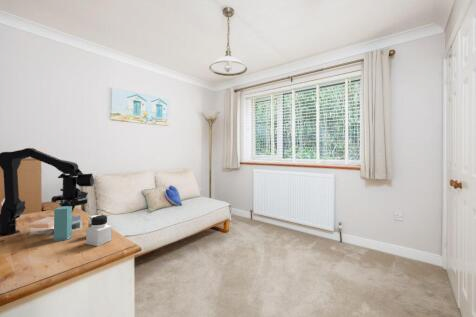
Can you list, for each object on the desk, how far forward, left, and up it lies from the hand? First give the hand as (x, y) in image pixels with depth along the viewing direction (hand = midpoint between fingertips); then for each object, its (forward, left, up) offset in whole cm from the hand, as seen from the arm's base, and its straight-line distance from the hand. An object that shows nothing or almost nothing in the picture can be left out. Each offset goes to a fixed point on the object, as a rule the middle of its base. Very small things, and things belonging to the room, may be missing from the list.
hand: (69, 216), depth 114 cm
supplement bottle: (+20, -1, -7) cm, 21 cm away
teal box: (+9, -9, -6) cm, 14 cm away
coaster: (+10, -9, -7) cm, 15 cm away
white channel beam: (-2, 0, -7) cm, 7 cm away
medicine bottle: (+29, -6, -7) cm, 30 cm away
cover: (0, 0, -3) cm, 3 cm away
